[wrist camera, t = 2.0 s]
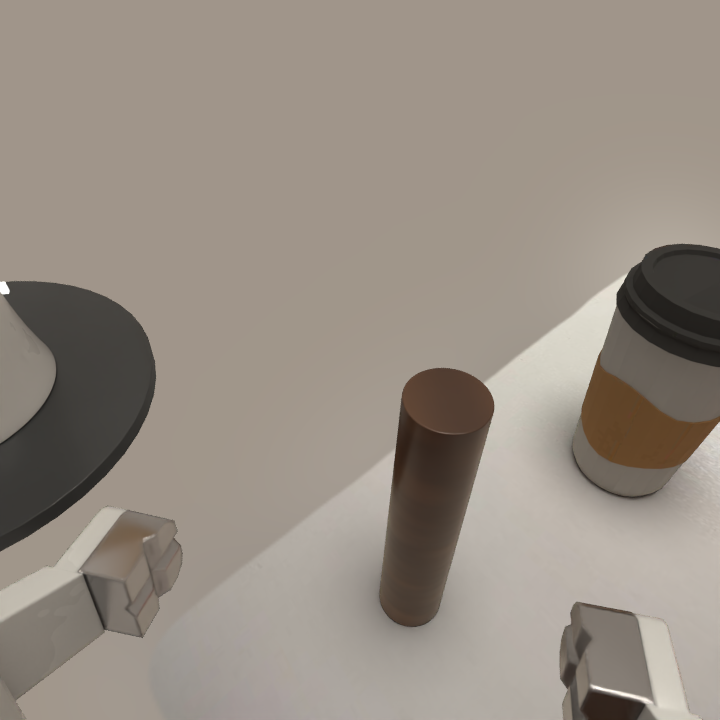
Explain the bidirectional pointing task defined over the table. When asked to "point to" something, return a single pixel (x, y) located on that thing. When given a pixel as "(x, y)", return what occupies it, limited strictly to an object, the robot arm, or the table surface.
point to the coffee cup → (654, 373)
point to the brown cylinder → (431, 487)
